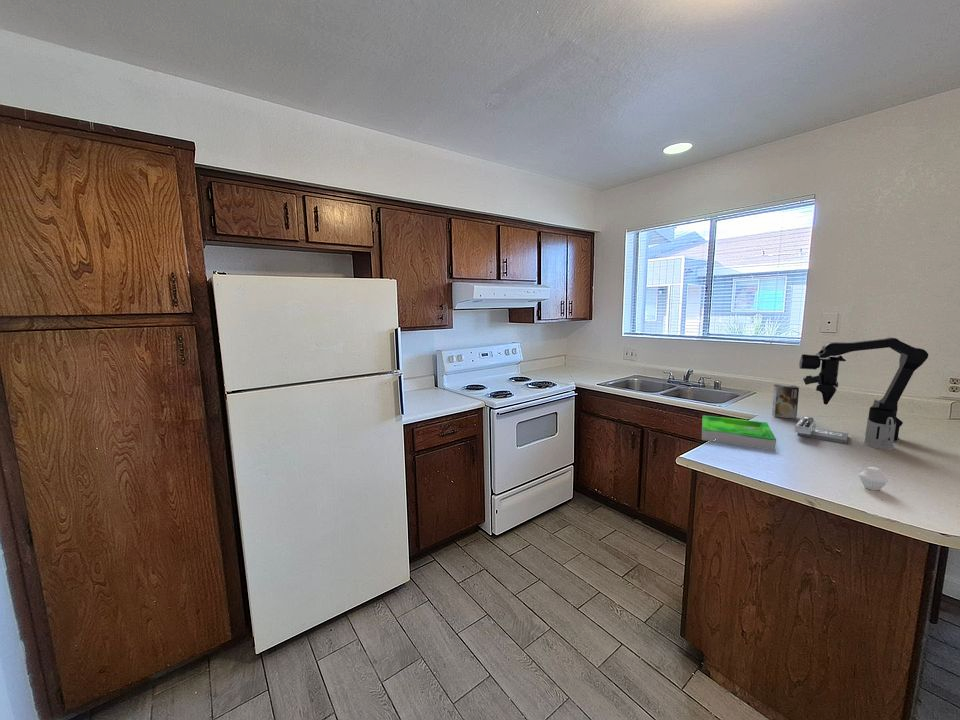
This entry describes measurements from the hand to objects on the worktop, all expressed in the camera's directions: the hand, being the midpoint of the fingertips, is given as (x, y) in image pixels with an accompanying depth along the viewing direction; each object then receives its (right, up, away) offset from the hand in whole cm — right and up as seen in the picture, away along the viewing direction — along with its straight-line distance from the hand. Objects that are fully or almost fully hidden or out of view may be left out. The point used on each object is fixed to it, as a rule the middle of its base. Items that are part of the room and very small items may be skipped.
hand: (825, 404), depth 169 cm
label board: (-7, -13, -6) cm, 16 cm away
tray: (-45, -14, -5) cm, 47 cm away
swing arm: (-15, -11, -6) cm, 20 cm away
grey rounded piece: (+3, -15, -21) cm, 26 cm away
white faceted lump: (-35, -20, -53) cm, 67 cm away
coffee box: (0, -9, +23) cm, 25 cm away
